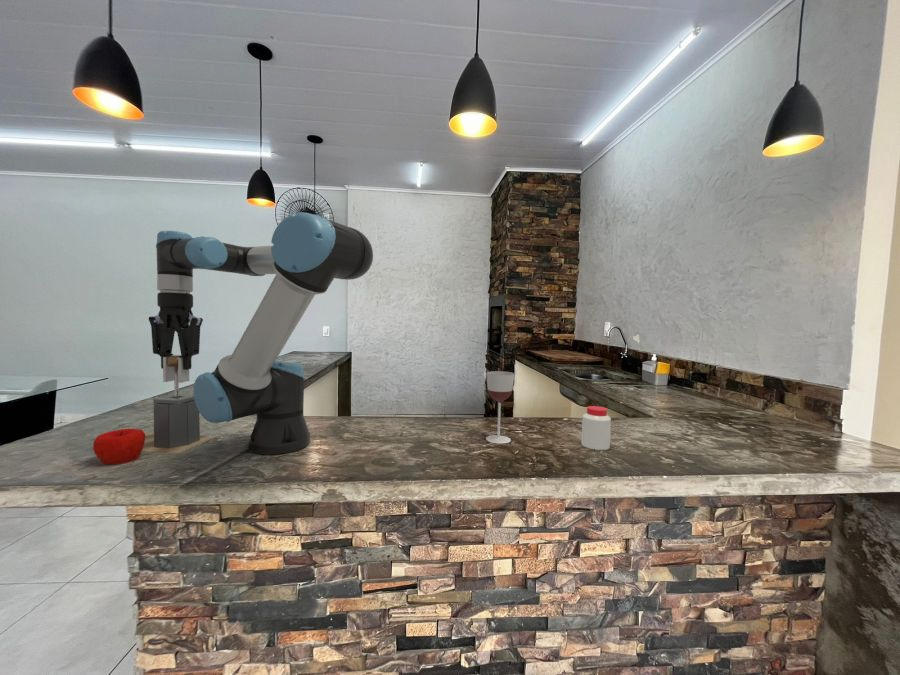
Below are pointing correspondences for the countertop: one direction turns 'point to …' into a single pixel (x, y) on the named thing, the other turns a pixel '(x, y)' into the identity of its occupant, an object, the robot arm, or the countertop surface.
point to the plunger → (175, 372)
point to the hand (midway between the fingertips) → (176, 381)
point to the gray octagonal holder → (175, 421)
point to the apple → (119, 446)
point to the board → (150, 448)
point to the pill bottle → (596, 428)
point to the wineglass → (499, 396)
